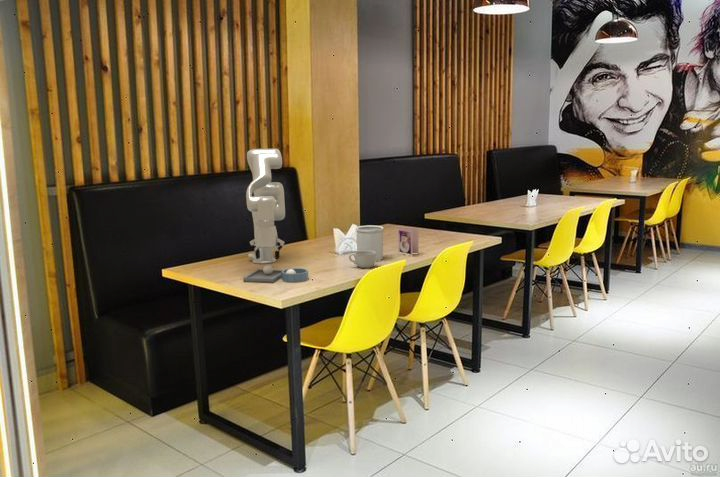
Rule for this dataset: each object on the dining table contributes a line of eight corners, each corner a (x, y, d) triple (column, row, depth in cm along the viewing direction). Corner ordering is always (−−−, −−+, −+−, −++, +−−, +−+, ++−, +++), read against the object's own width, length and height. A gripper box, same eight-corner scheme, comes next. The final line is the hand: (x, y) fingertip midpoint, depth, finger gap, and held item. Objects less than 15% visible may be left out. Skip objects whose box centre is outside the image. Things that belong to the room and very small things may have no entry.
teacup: (375, 264, 333) (375, 249, 332) (376, 269, 323) (376, 253, 321) (348, 265, 333) (348, 250, 331) (349, 269, 322) (348, 254, 321)
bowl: (278, 281, 299) (278, 273, 298) (287, 275, 311) (286, 267, 310) (303, 282, 296) (303, 274, 296) (311, 276, 308) (310, 268, 307)
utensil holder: (381, 262, 338) (381, 229, 335) (353, 261, 341) (353, 229, 338) (385, 256, 353) (385, 225, 350) (359, 256, 356) (359, 225, 352)
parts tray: (243, 281, 300) (243, 277, 299) (257, 273, 317) (257, 269, 316) (273, 283, 296) (273, 279, 296) (286, 274, 314) (285, 270, 313)
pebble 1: (261, 275, 308) (261, 265, 308) (265, 273, 313) (264, 263, 312) (271, 275, 307) (270, 266, 307) (274, 273, 312) (274, 264, 311)
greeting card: (397, 253, 360) (397, 227, 358) (407, 252, 365) (407, 226, 362) (411, 257, 352) (411, 230, 349) (420, 255, 356) (421, 228, 354)
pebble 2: (287, 282, 299) (282, 273, 299) (291, 279, 304) (285, 271, 304) (296, 277, 298) (290, 268, 298) (299, 274, 303) (293, 266, 303)
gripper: (246, 224, 304) (247, 259, 306) (280, 224, 300) (282, 260, 303) (252, 222, 311) (253, 257, 314) (286, 222, 307) (287, 257, 310)
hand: (267, 258), depth 308 cm, fingers open, 9 cm apart
